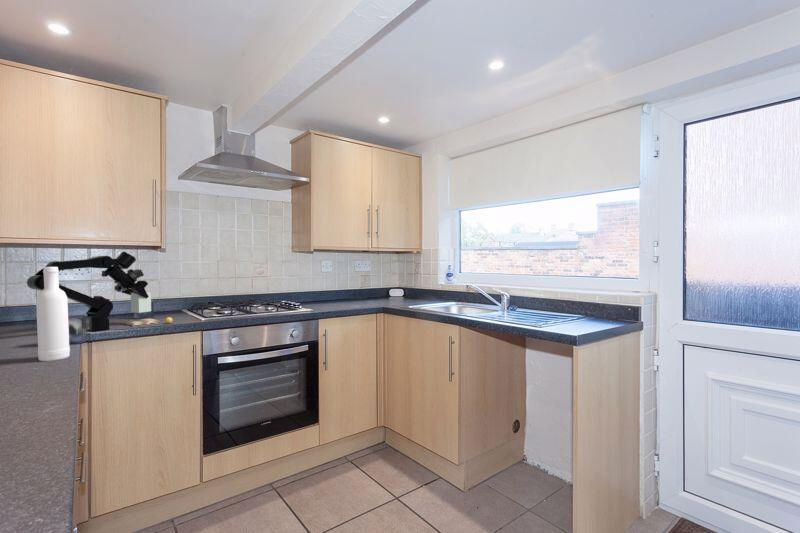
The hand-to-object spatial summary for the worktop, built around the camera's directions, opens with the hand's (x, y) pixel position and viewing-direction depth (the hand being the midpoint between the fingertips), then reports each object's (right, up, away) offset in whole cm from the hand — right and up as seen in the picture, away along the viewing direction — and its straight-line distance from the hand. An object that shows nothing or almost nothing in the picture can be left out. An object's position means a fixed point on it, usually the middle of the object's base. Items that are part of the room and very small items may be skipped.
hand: (143, 297), depth 203 cm
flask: (-11, -13, +18) cm, 24 cm away
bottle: (+15, -15, -70) cm, 73 cm away
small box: (0, -15, -47) cm, 49 cm away
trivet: (0, -13, -1) cm, 13 cm away
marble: (+14, -13, -3) cm, 19 cm away
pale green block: (-1, -7, -1) cm, 7 cm away
